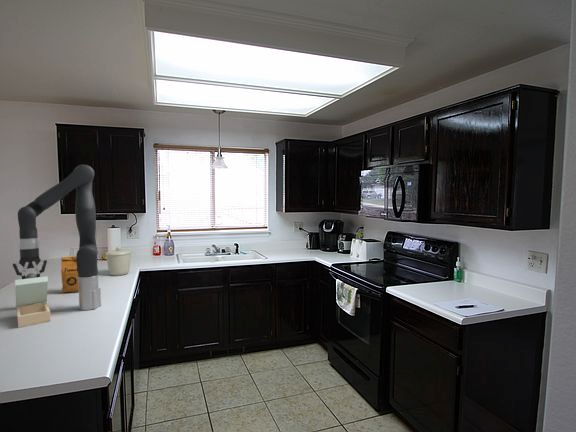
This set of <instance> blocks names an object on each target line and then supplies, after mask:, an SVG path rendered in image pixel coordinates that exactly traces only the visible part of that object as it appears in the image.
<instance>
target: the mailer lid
mask: <svg viewBox="0 0 576 432" xmlns="http://www.w3.org/2000/svg"><path fill="white" fill-rule="evenodd" d="M25 278H26V279H22V278H21V279H14V282H15V283H14V288H15V307H16V308H17V307H18V306H25V305H31V304H38V303H44V302H47V303H48V283H49V278H48V275H46V276H40V277H37V276H36V273H31V272H30V273H28V274H27V275H25Z"/></svg>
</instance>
